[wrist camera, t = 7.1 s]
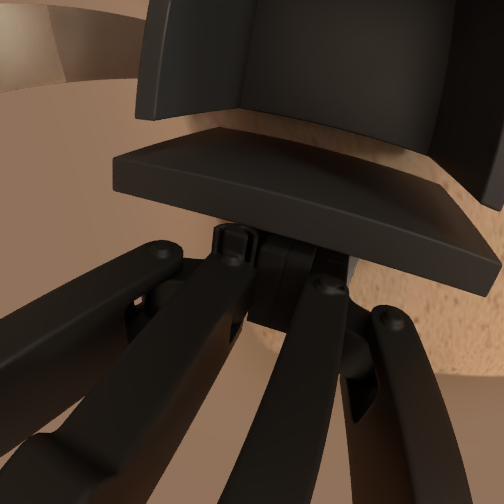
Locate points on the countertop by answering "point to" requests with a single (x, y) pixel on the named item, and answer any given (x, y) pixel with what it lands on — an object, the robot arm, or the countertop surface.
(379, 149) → the countertop surface
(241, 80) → the open grey drawer
